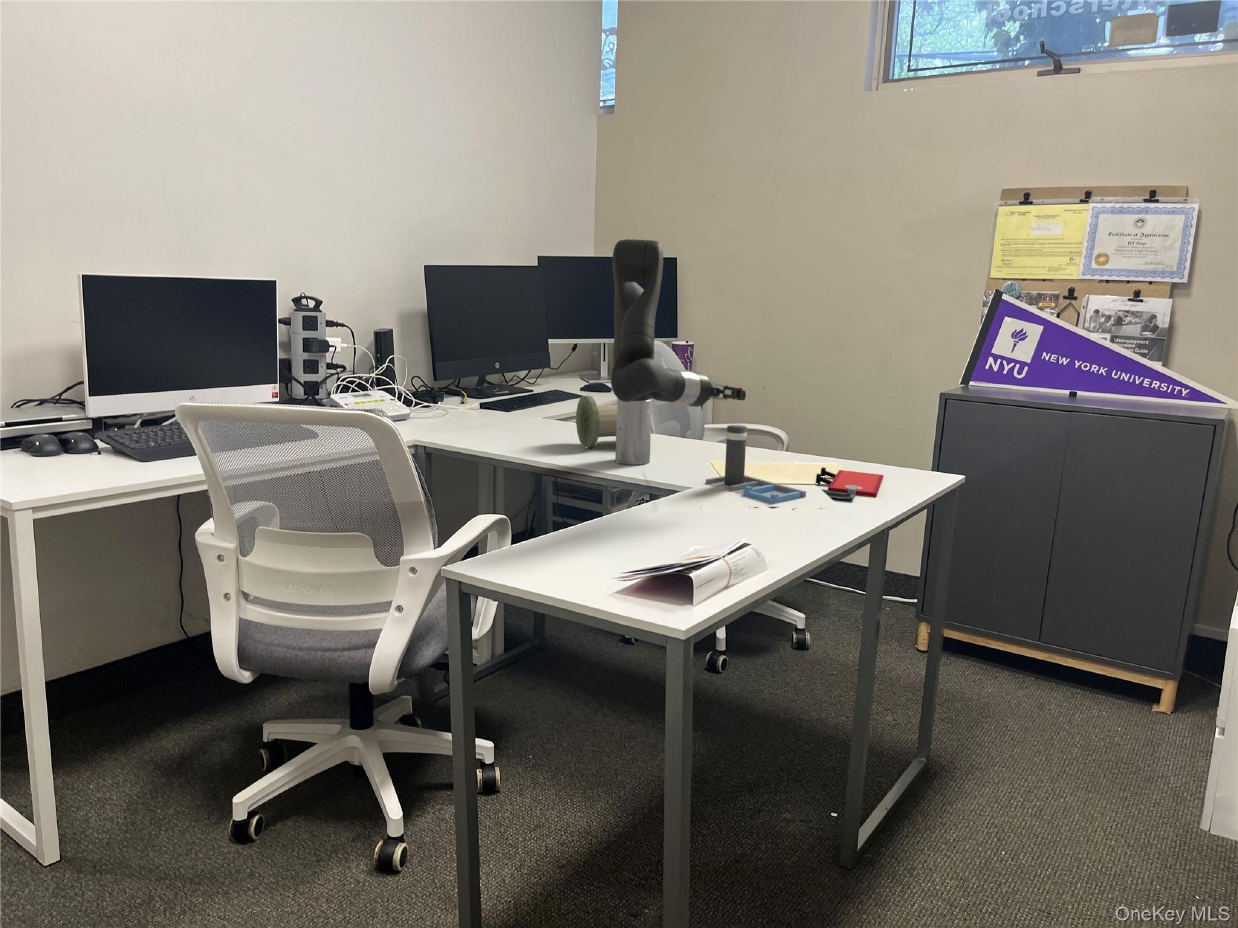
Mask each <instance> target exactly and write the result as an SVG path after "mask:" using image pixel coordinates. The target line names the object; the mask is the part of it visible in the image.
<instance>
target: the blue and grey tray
mask: <svg viewBox="0 0 1238 928" xmlns="http://www.w3.org/2000/svg"><path fill="white" fill-rule="evenodd" d="M724 483H725V475H723V476H716V477H711V478H706V479H705V483H704V484H705V485H708V486H711V487H714V488H718V489H721V490H725V491H728V492H732V493H735V494H739V495H741V496H746V497H747V498H748V497H749V498H753V499H756V500H759V501H762V502H766V503H770V504H778V503H782V502H787V501H792V500H796V499H802V498H806V497H807V491H805V490H801V489H798V488H794V487H790V486H786V485H783V484H780V483H776V482H772V481H768V480H764V479H761V478H757V477H754V476H749V475H746V474H744V483H743V484H737V485H732V486H727V485H725V484H724ZM768 508H769V509H772V510H773V509H778V508H779V506H768Z"/></svg>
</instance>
